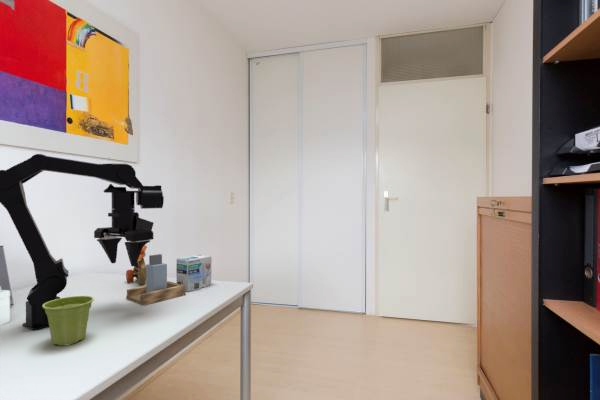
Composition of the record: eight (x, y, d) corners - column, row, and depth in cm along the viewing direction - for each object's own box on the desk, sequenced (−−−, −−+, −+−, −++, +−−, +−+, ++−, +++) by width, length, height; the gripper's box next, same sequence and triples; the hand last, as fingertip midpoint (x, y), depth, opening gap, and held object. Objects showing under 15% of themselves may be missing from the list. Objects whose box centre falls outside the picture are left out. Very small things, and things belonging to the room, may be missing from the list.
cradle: (143, 305, 99) (143, 295, 99) (126, 298, 106) (126, 289, 106) (185, 294, 110) (185, 285, 110) (167, 289, 117) (167, 280, 117)
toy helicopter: (148, 277, 134) (147, 243, 134) (162, 289, 117) (162, 249, 117) (125, 281, 129) (125, 245, 129) (137, 293, 112) (137, 252, 112)
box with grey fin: (153, 296, 105) (153, 256, 105) (146, 294, 107) (146, 255, 107) (166, 293, 108) (166, 254, 108) (159, 291, 111) (159, 253, 111)
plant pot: (44, 337, 76) (44, 299, 76) (93, 329, 81) (93, 293, 81) (40, 353, 68) (40, 311, 68) (94, 342, 73) (94, 303, 73)
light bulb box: (188, 292, 113) (188, 260, 113) (175, 289, 117) (175, 258, 117) (212, 285, 122) (212, 255, 122) (199, 282, 126) (199, 254, 126)
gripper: (169, 208, 97) (169, 262, 97) (129, 208, 106) (129, 257, 106) (134, 209, 87) (134, 270, 87) (92, 208, 96) (93, 263, 96)
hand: (123, 264), depth 94 cm, fingers open, 9 cm apart
